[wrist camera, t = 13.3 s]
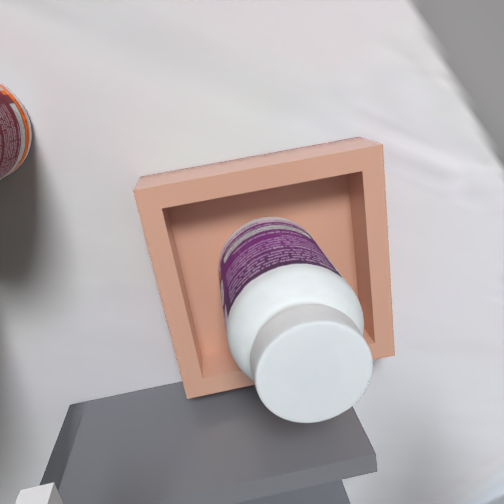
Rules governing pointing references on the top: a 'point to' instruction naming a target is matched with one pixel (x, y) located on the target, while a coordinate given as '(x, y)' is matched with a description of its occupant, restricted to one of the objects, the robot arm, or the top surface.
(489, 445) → the top surface
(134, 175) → the top surface
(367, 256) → the dish
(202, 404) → the bay
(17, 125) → the pill bottle
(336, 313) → the pill bottle
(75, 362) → the top surface
